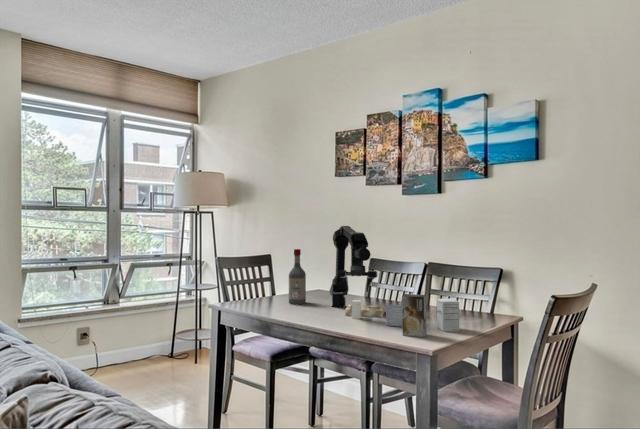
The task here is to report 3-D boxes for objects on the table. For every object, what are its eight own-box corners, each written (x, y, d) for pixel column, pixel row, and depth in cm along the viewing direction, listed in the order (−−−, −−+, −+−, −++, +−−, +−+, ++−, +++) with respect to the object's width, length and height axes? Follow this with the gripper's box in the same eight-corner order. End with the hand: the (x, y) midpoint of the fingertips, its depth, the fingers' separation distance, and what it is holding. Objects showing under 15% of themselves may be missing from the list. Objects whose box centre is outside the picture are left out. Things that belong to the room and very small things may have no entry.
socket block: (345, 315, 233) (345, 308, 233) (348, 310, 246) (348, 304, 246) (382, 317, 230) (382, 310, 230) (384, 311, 243) (384, 305, 243)
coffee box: (427, 334, 197) (427, 294, 197) (424, 337, 191) (424, 297, 191) (404, 332, 200) (404, 293, 200) (401, 335, 194) (401, 295, 194)
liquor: (305, 304, 263) (305, 249, 263) (288, 304, 263) (288, 249, 263) (305, 301, 272) (305, 248, 272) (289, 301, 272) (289, 248, 272)
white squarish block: (351, 318, 227) (351, 301, 227) (352, 316, 231) (352, 300, 231) (360, 318, 226) (360, 301, 226) (361, 317, 230) (361, 300, 230)
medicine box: (405, 324, 213) (405, 305, 213) (404, 327, 209) (404, 307, 209) (388, 323, 216) (388, 304, 216) (386, 325, 212) (386, 306, 212)
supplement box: (436, 327, 208) (436, 298, 208) (453, 327, 208) (453, 298, 208) (442, 331, 200) (442, 301, 200) (459, 331, 201) (459, 301, 201)
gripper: (335, 260, 223) (335, 294, 222) (375, 260, 219) (375, 295, 219) (338, 258, 234) (338, 290, 233) (377, 258, 230) (377, 291, 230)
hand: (357, 292), depth 229 cm, fingers open, 9 cm apart
